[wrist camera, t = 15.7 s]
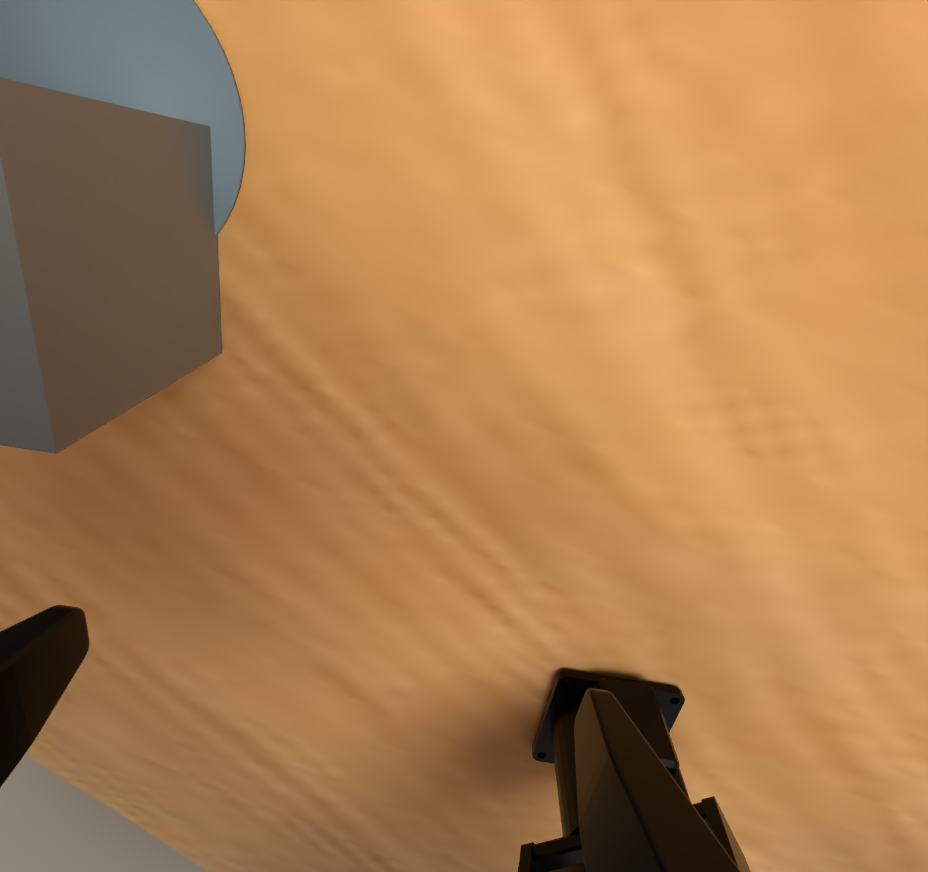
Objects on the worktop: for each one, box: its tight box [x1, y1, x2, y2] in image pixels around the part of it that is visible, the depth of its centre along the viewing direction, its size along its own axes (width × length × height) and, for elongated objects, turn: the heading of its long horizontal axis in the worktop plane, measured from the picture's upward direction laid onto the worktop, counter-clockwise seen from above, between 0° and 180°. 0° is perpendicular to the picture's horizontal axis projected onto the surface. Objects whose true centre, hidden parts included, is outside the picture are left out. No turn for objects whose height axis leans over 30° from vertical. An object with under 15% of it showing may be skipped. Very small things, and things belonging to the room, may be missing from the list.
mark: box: [0, 0, 246, 235], centre depth 17 cm, size 10×10×1 cm
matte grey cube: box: [0, 77, 222, 453], centre depth 15 cm, size 8×8×9 cm
